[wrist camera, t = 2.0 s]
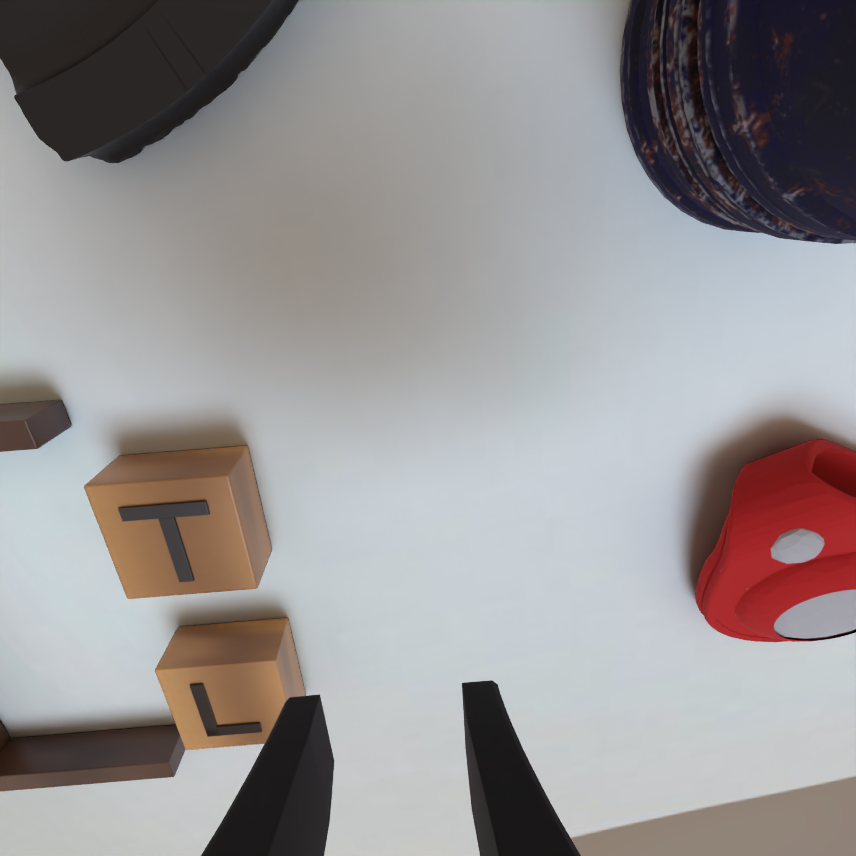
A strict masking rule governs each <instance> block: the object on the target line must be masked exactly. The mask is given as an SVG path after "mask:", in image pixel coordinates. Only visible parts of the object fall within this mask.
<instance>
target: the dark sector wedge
mask: <svg viewBox="0 0 856 856" xmlns="http://www.w3.org/2000/svg"><path fill="white" fill-rule="evenodd" d="M297 2H298V0H0V58H1V60H2V61H3V63H4V65H5V67H6V68H7V70H8V71H9V73H10V75H11V77H12V80H13V83H14V87H15V91H16V93H17V95H15V96H14V97H15V100H16V101H17V103H18V105H19V106H20V108H21V109H22V112H23V114H24V115H25V117H26V119H27V120H28V122H29V123H30V125H31V127H32V128H33V130H34V131H35V133H36V135H37V136H38V137H39V139H40V140H42V141H43V142H44V143H45V144H46V145H48V146H49V147H51V148H52V149H53V150H55V151H56V152H57V153H58V154H59V156H60V157H61V159H62V160H63V161H70V160H73V159H77V158H80V157H86V156H91V157H93V158H97V159H100V160H104V161H105V162H109V163H119V162H121V161H123V160H125V159H128V158H131V157H133V156H135V155H137V154H138V153H140V152H141V151H142V149H143V147H145V146H146V145H150V144H152V143H154V142H156V141H159V140H161V139H163V138H164V137H165V136H166V135H168V134H169V133H170V132H171V131H172V130H173V129H174V128H175V127H177V126H179V125H181V124H183V123H184V122H185V121H186V120H187V119H190V118H192V117H193V116H194V115H195V114H196V113H197V111H198V110H199V109H201V108H202V107H204V106H206V105H207V104H209V103H211V102H212V101H213V99H214V98H216V97H217V96H218V95H219V94H221V93H222V92H224V91H225V90H226V89H227V88H228V87H229V86H231V85H232V84H233V83H234V81H235V80H236V79H237V77H238V74H239V73H240V72H241V71H243V70H245V69H246V68H247V67H248V66H249V64H250V63H251V62H252V61H253V60H254V58H255V57H256V56H257V54H258V53H259V52H260V50H261V49H262V48H263V47H265V46H266V45H267V44H268V43H269V42H270V40H271V39H272V38H273V36H274V35H275V34H276V32H277V31H278V30H279V28H280V27H281V25H282V24H283V22H284V20H285V18H286V17H287V16H288V15H289V14H290V13H291V12H292V10H293V8H294V7H295V5H296V3H297Z"/></svg>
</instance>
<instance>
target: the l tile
mask: <svg viewBox="0 0 856 856" xmlns="http://www.w3.org/2000/svg"><path fill="white" fill-rule="evenodd" d="M155 672H156V675H157V677H158V680H159V682H160V685H161V688H162V690H163V693H164V695H165V698H166V700H167V703H168V705H169V708H170V711H171V713H172V716H173V718H174V721H175V723H176V726H177V729H178V731H179V734H180V736H181V739H182V741H183V744H184V747H185V749H186V750H193V749H205V748H217V747H229V746H241V745H253V744H265V743H266V741H267V739H268V737H269V735H270V733H271V731H272V729H273V727H274V724H275V722H276V720H277V718H278V716H279V714H280V712H281V710H282V708H283V706H284V703H285V702H286V701H287V700H288V699H289V698H290V697H299V696H306V694H305V690H304V685H303V681H302V677H301V672H300V668H299V664H298V659H297V655H296V651H295V647H294V642H293V638H292V634H291V629H290V625H289V621H288V618H280V619H268V620H255V621H243V622H231V623H218V624H206V625H194V626H181V627H178V628H177V630H176V632H175V634H174V635H173V637H172V639H171V641H170V643H169V645H168V647H167V648H166V650H165V652H164V654H163V656H162V658H161V659H160V661H159V663H158V665H157V667H156V669H155Z"/></svg>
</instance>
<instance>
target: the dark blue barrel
mask: <svg viewBox="0 0 856 856" xmlns="http://www.w3.org/2000/svg"><path fill="white" fill-rule="evenodd" d="M620 72H621V92H622V104H623V109H624V114H625V120H626V125H627V130H628V133H629V136H630V138H631V141H632V144H633V147H634V150H635V152H636V155H637V157H638V159H639V161H640V163H641V164H642V166H643V168H644V170H645V171H646V173H647V175H648V177H649V179H650V180H651V181H652V182H653V183H654V185H655V186H656V187H657V188H658V189H659V191H660V192H661V193H662V194H663V195H664V197H665V198H667V199H668V200H669V201H670V202H671V203H673V204H674V205H675V206H676V207H678V208H679V209H680V210H681V211H682V212H684V213H686V214H688V215H690V216H692V217H693V218H695V219H697V220H699V221H701V222H703V223H706V224H709V225H712V226H716V227H719V228H722V229H727V230H736V231H744V232H756V233H765V234H768V235H772V236H775V237H778V238H784V239H793V240H801V241H811V242H822V243H833V244H842V243H856V0H631V1H630V6H629V11H628V16H627V20H626V25H625V30H624V35H623V44H622V57H621V69H620Z"/></svg>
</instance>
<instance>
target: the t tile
mask: <svg viewBox="0 0 856 856" xmlns="http://www.w3.org/2000/svg"><path fill="white" fill-rule="evenodd" d="M84 489H85V491H86V494H87V496H88V499H89V501H90V504H91V507H92V509H93V512H94V514H95V517H96V519H97V522H98V525H99V527H100V530H101V532H102V535H103V537H104V540H105V543H106V545H107V548H108V550H109V553H110V555H111V558H112V561H113V563H114V566H115V568H116V571H117V573H118V576H119V579H120V581H121V584H122V586H123V589H124V591H125V594H126V597H127V598H128V599H134V598H146V597H158V596H171V595H183V594H196V593H208V592H221V591H233V590H245V589H256V588H258V585H259V583H260V580H261V578H262V575H263V572H264V570H265V567H266V565H267V562H268V559H269V557H270V554H271V552H272V549H271V544H270V540H269V536H268V531H267V527H266V523H265V518H264V514H263V510H262V505H261V501H260V497H259V493H258V488H257V484H256V480H255V475H254V471H253V467H252V462H251V458H250V454H249V449H248V447H247V446H237V447H224V448H211V449H199V450H186V451H173V452H160V453H147V454H134V455H122V456H118V457H117V458H116V459H114V460H113V461H112V462H111V463H110V464H109V465H108V466H106V467H105V468H104V469H103V470H102V471H101V472H100V473H98V474H97V475H96V476H95V477H94V478H93V479H92V480H90V481H89V482H88V483H87V484H86V485H85V486H84Z"/></svg>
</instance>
